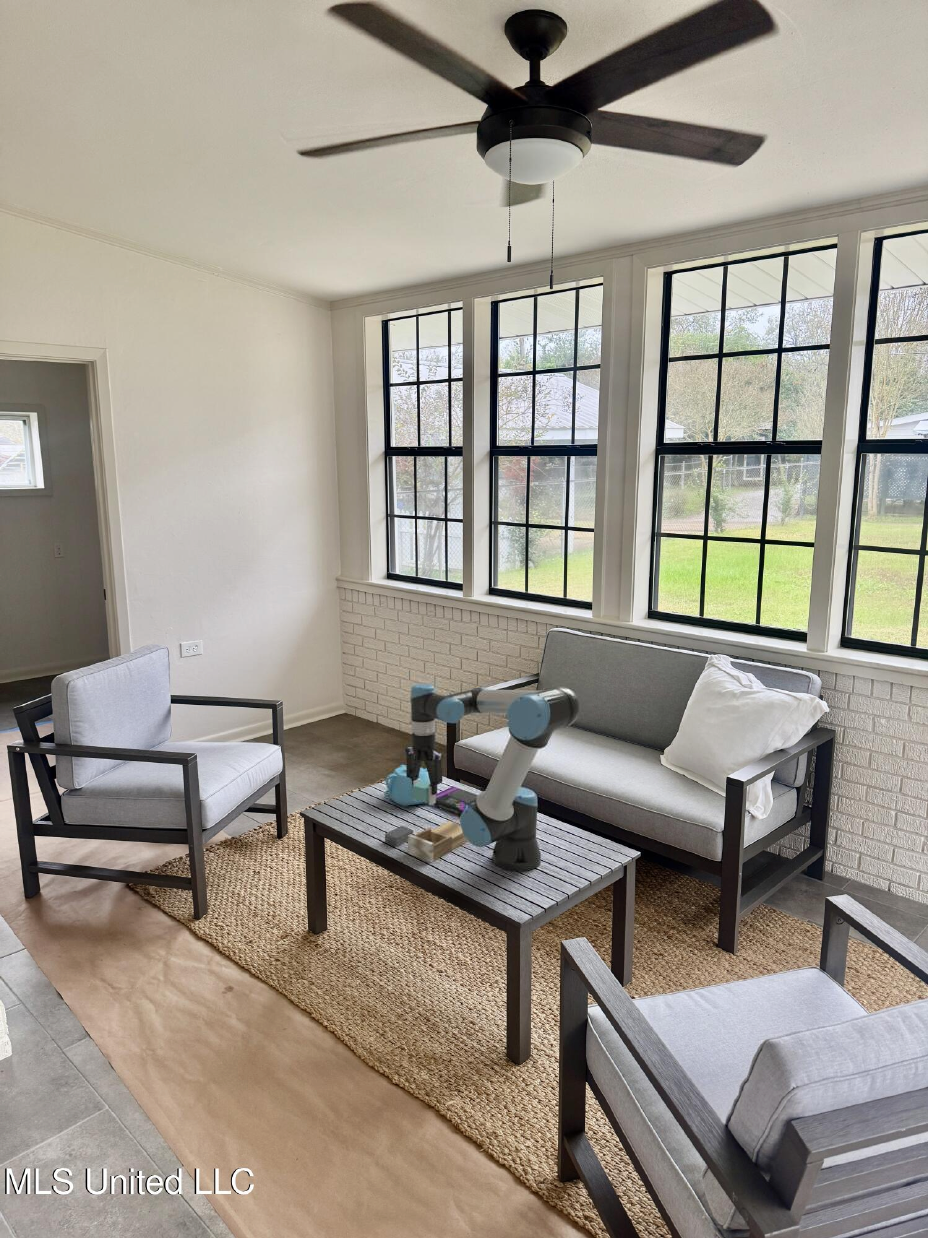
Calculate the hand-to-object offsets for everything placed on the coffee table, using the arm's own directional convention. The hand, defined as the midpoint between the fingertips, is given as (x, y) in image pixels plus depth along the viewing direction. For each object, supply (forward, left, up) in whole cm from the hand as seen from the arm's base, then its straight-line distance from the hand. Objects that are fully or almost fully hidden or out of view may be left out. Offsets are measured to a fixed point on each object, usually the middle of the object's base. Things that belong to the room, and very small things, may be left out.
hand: (424, 801), depth 261 cm
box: (+9, -30, -15) cm, 35 cm away
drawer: (-6, -1, -14) cm, 15 cm away
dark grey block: (+7, +5, -14) cm, 16 cm away
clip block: (0, 0, +1) cm, 1 cm away
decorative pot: (+26, -22, -14) cm, 37 cm away
